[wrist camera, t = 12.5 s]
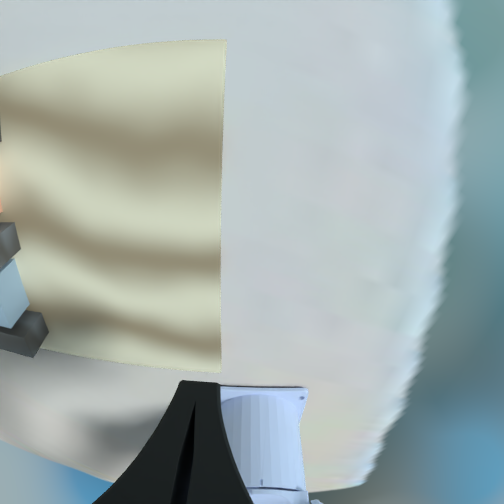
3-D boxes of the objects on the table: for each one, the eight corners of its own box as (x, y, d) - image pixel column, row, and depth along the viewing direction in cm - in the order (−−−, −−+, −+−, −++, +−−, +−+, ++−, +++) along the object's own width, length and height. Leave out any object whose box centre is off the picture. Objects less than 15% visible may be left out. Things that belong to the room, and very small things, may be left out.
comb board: (221, 368, 23) (218, 404, 20) (-3, 333, 23) (-20, 357, 20) (226, 41, 13) (220, 27, 10) (-60, 102, 12) (-91, 111, 9)
